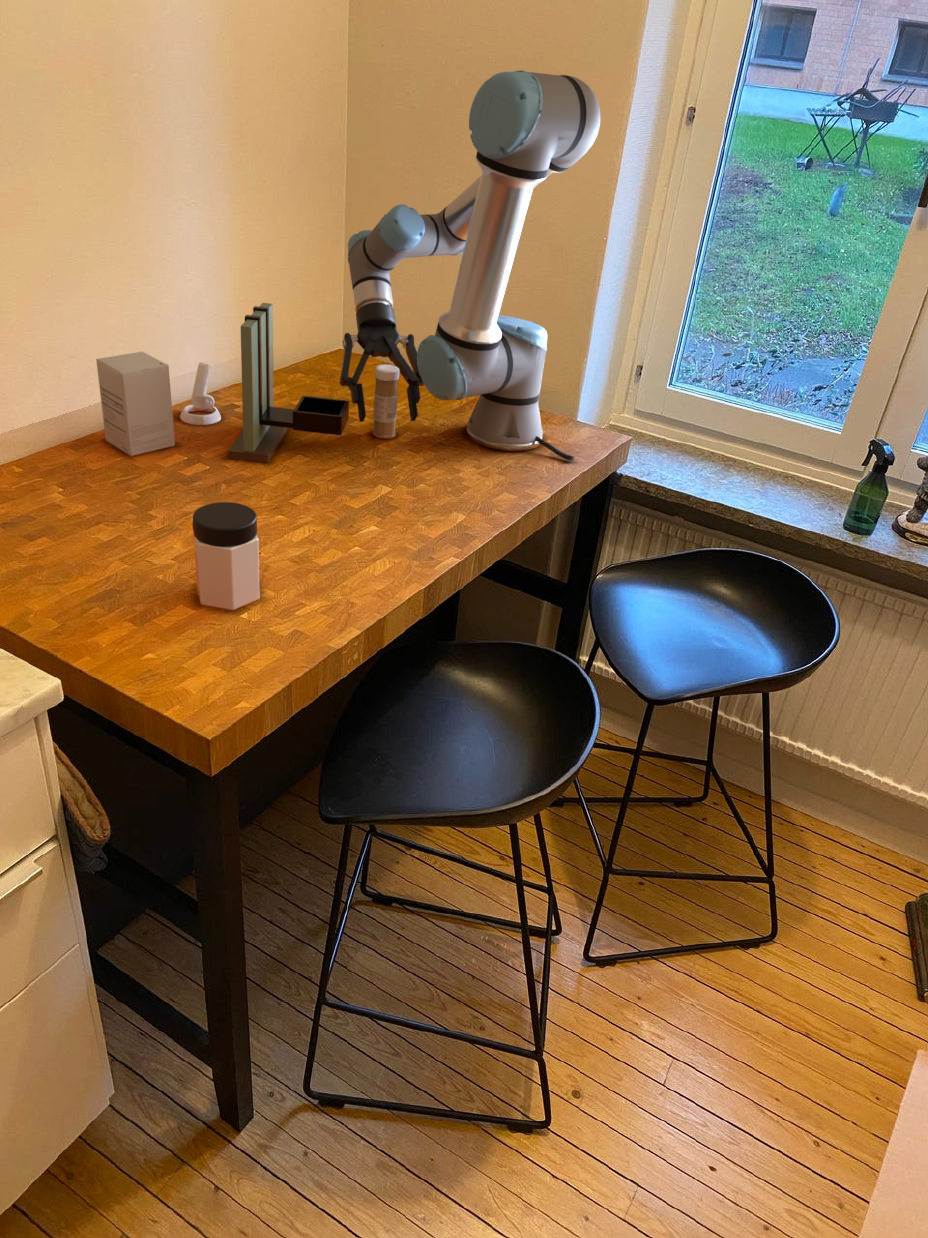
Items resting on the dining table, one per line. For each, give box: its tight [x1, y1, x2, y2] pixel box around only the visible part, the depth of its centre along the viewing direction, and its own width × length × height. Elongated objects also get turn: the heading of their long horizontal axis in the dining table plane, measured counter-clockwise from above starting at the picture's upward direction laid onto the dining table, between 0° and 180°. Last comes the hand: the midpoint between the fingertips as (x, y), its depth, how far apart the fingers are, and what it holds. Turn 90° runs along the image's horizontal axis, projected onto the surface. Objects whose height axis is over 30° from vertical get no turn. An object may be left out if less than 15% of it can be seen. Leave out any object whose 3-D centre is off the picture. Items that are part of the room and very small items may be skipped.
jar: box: [191, 501, 261, 611], centre depth 125 cm, size 9×8×12 cm
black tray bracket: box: [244, 305, 350, 437], centre depth 166 cm, size 17×9×19 cm, turn 87°
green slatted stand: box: [227, 302, 289, 464], centre depth 167 cm, size 7×17×24 cm, turn 177°
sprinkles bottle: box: [372, 364, 401, 440], centre depth 179 cm, size 5×5×14 cm
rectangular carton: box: [95, 351, 176, 457], centre depth 164 cm, size 9×9×15 cm
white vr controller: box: [179, 361, 222, 426], centre depth 181 cm, size 8×12×7 cm
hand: (388, 418), depth 178 cm, fingers open, 9 cm apart
